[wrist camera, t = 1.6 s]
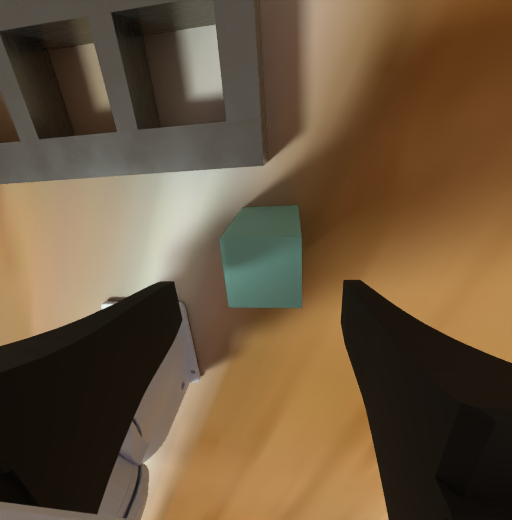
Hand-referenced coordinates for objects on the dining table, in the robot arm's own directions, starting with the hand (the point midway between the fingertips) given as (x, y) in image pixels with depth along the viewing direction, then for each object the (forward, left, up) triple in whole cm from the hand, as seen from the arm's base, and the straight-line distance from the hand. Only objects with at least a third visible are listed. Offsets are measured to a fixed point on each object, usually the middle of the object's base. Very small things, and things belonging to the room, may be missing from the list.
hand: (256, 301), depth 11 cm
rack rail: (+10, +11, -9) cm, 18 cm away
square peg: (0, 0, -10) cm, 10 cm away
